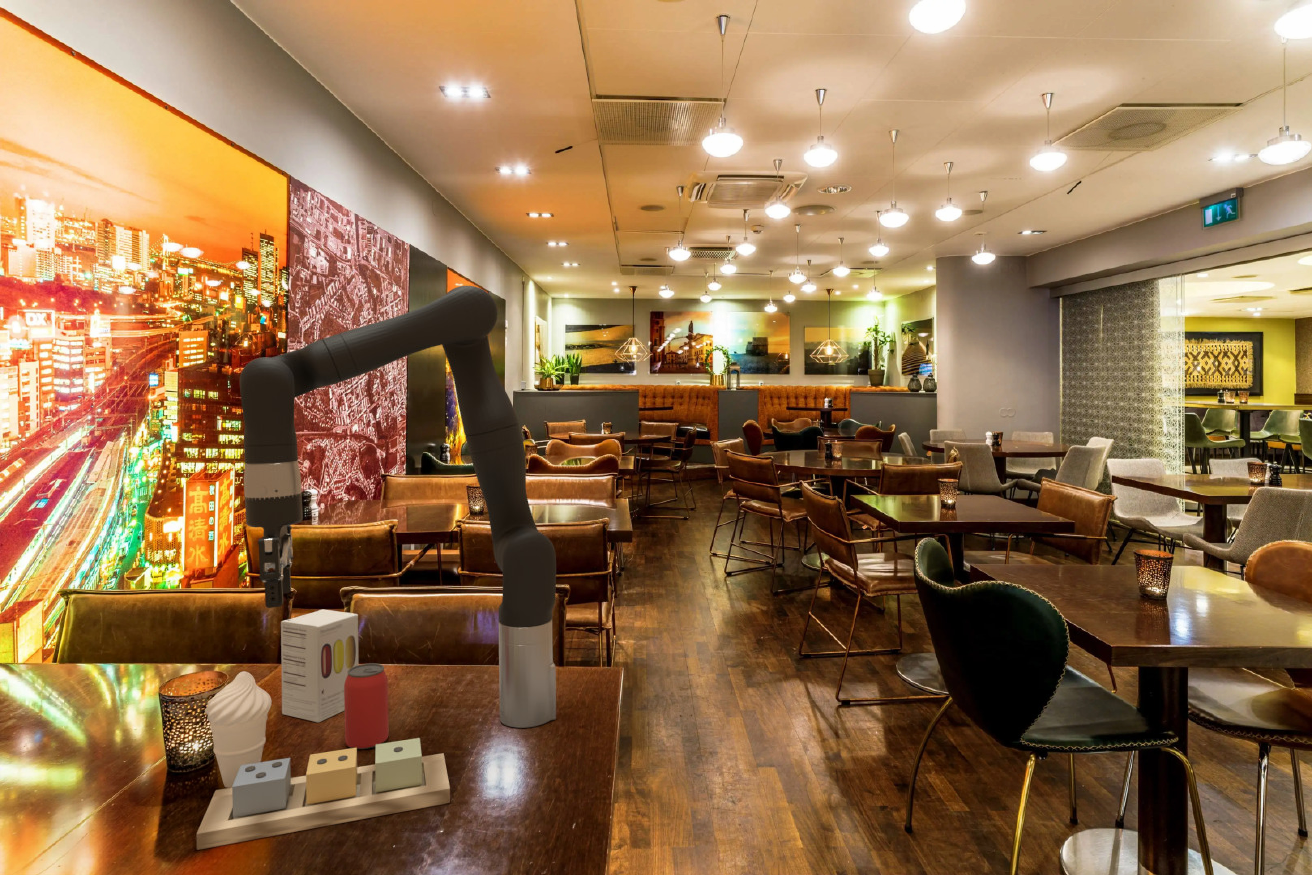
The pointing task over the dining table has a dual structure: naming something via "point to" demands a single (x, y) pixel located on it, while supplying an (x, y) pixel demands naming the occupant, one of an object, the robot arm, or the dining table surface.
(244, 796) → the tile three
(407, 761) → the tile one
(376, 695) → the beer can
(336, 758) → the tile two
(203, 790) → the dining table surface
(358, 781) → the board
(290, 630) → the supplement box
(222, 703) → the soft serve ice cream cone
